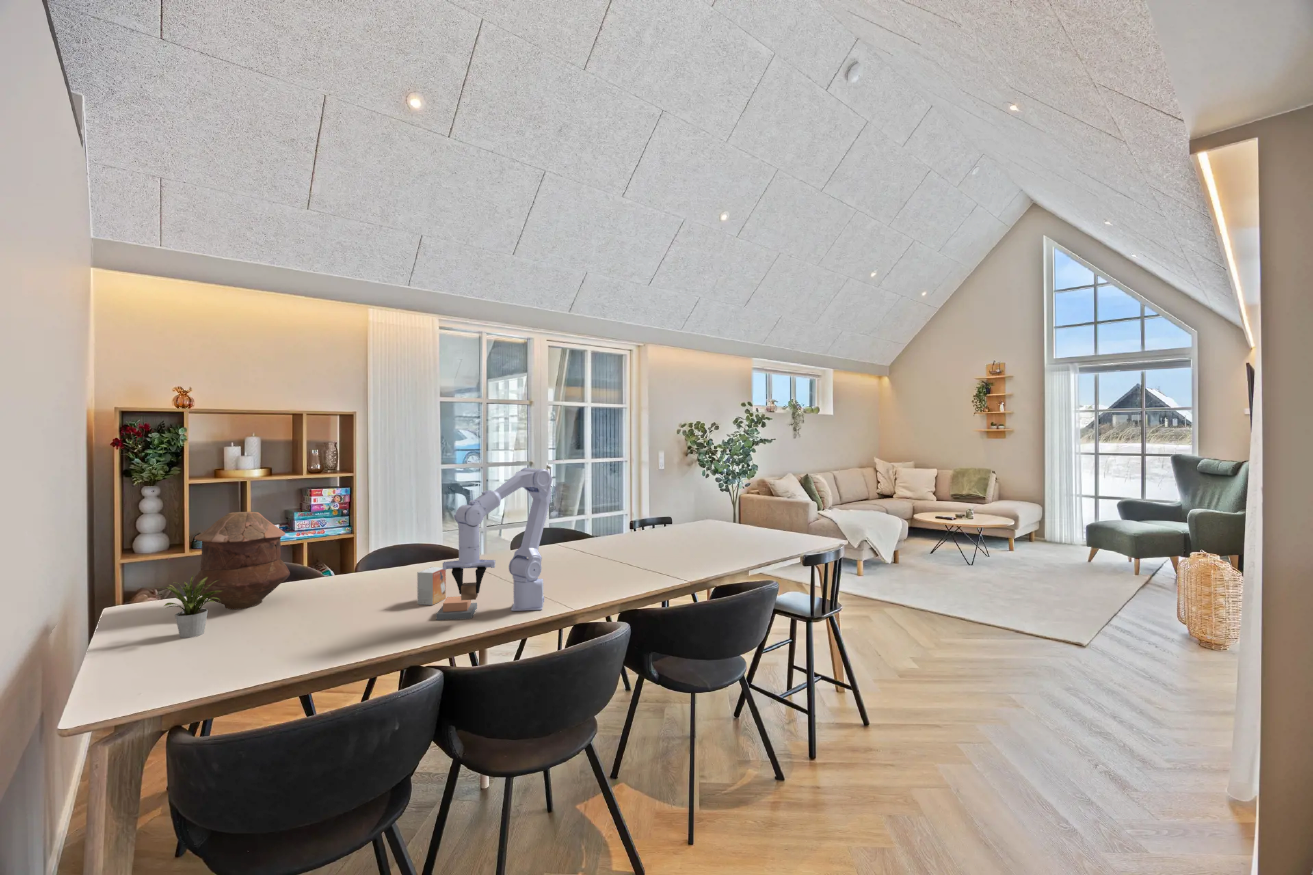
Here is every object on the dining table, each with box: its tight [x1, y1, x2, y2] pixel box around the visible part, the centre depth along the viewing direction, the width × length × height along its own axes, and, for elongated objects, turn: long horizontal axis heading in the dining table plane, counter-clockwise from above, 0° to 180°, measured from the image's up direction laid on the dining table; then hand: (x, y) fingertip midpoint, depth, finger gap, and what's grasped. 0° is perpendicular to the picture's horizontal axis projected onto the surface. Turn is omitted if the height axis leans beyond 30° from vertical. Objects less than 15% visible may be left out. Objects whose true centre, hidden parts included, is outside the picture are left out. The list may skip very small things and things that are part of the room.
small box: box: [416, 566, 447, 606], centre depth 191 cm, size 8×6×10 cm
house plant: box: [155, 574, 221, 639], centre depth 159 cm, size 14×14×16 cm
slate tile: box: [435, 602, 478, 621], centre depth 178 cm, size 10×10×2 cm
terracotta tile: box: [442, 595, 472, 612], centre depth 178 cm, size 7×7×2 cm
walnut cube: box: [460, 581, 479, 601], centre depth 170 cm, size 4×4×4 cm
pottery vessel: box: [192, 511, 291, 610], centre depth 188 cm, size 26×26×30 cm
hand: (469, 592), depth 170 cm, fingers closed on walnut cube, 4 cm apart
